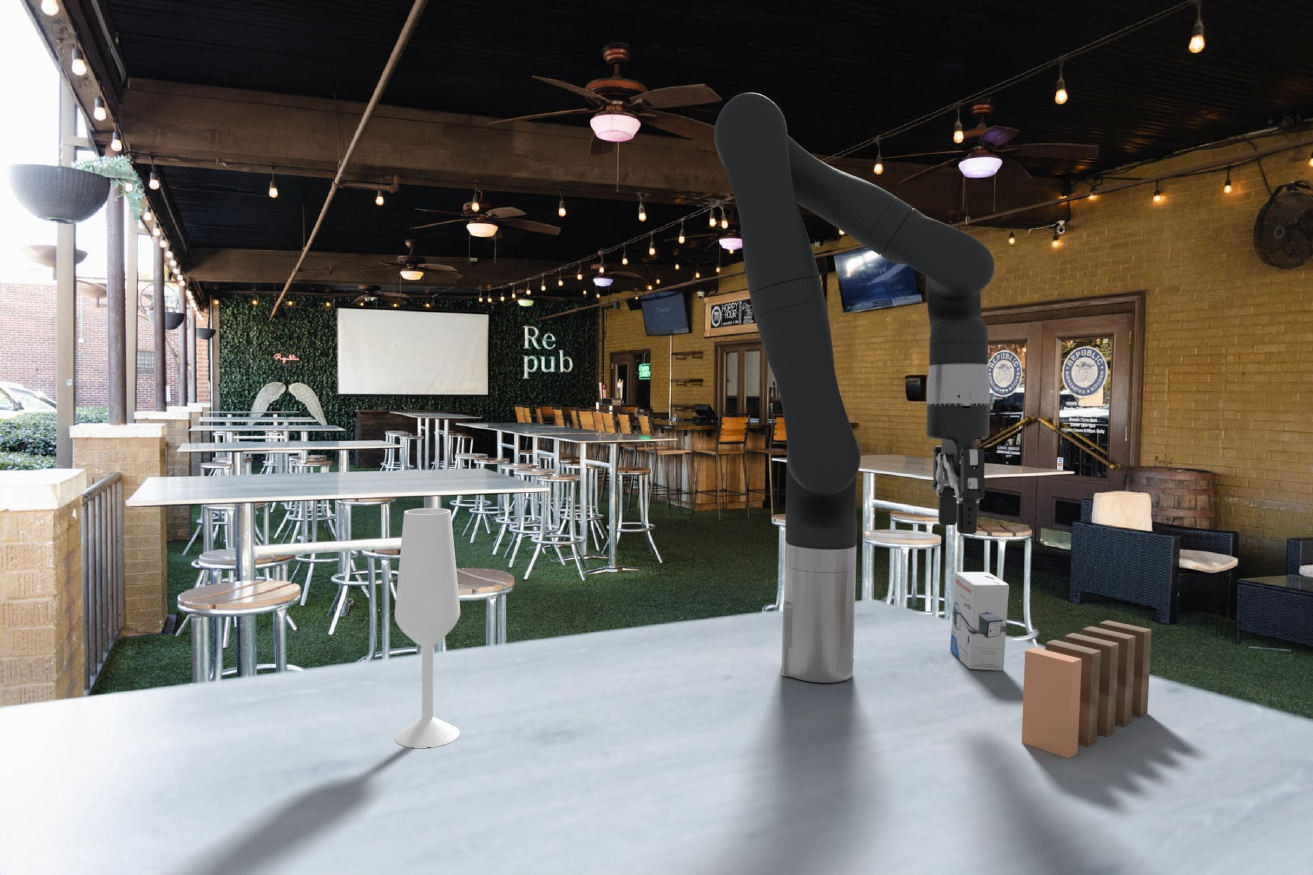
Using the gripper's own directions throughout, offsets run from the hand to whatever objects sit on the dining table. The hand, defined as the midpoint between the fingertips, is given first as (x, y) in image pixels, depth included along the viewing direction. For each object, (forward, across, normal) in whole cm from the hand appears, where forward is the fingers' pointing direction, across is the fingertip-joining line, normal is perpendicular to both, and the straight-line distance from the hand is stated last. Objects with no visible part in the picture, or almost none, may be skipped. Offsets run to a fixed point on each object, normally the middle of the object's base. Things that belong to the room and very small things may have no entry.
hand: (956, 529), depth 109 cm
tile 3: (+21, +12, +11) cm, 27 cm away
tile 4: (+21, +16, +8) cm, 27 cm away
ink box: (+20, -11, +6) cm, 23 cm away
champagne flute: (+20, +22, -61) cm, 68 cm away
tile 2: (+20, +9, +14) cm, 27 cm away
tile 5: (+21, +19, +4) cm, 28 cm away
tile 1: (+20, +6, +18) cm, 28 cm away
